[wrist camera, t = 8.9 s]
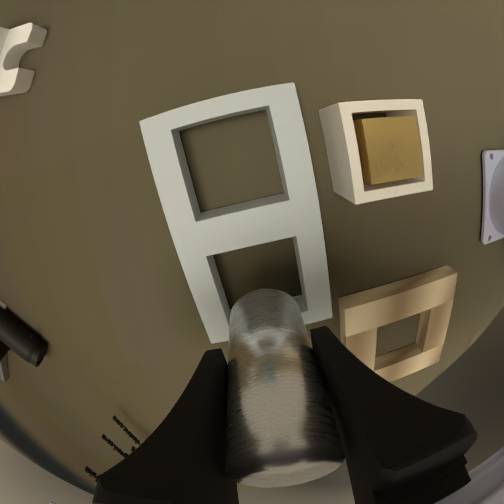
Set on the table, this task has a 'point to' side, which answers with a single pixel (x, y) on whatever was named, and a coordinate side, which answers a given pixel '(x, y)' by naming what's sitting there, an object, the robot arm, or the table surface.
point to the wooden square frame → (396, 308)
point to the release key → (388, 148)
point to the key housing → (347, 155)
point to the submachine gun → (18, 342)
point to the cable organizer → (17, 56)
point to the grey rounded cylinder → (276, 397)
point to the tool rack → (242, 214)
